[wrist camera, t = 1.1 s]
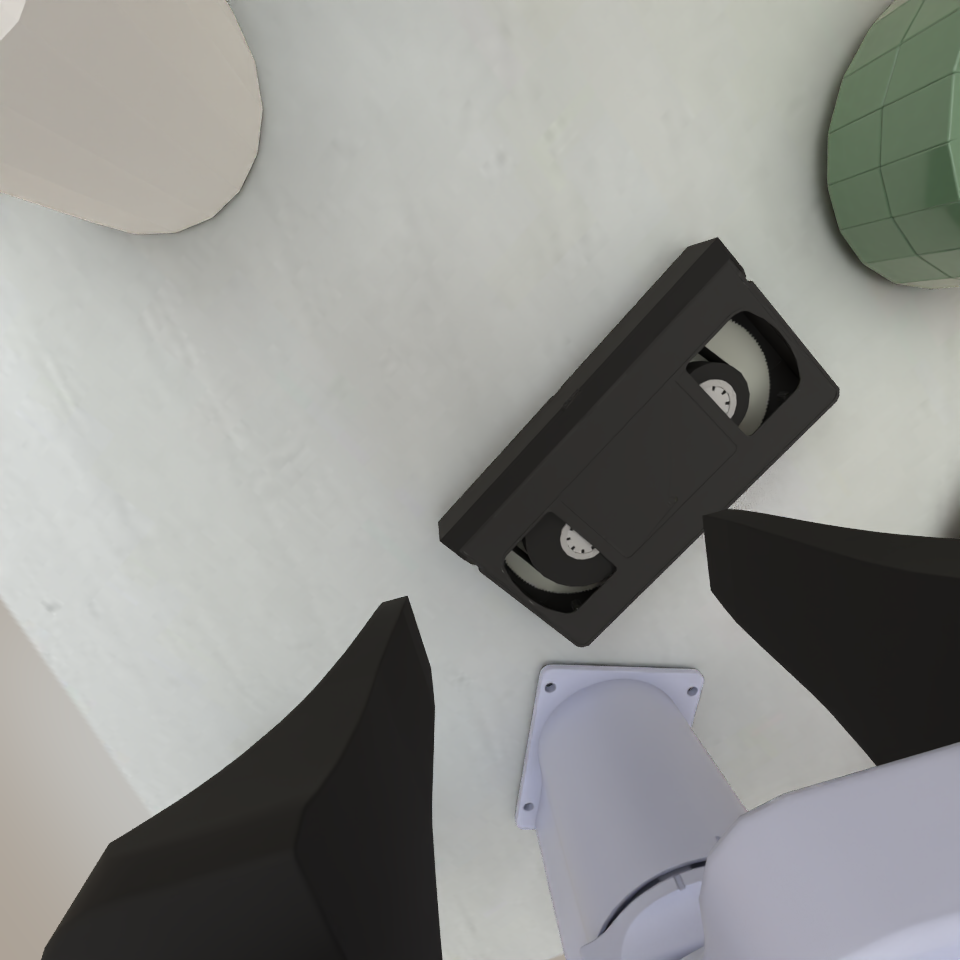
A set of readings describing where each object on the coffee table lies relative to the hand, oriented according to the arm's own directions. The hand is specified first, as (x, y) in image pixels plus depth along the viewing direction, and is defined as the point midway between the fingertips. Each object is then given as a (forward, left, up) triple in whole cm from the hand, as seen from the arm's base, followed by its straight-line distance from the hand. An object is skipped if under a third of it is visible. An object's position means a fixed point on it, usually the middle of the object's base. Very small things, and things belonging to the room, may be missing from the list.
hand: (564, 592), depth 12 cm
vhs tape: (+2, -5, -9) cm, 11 cm away
